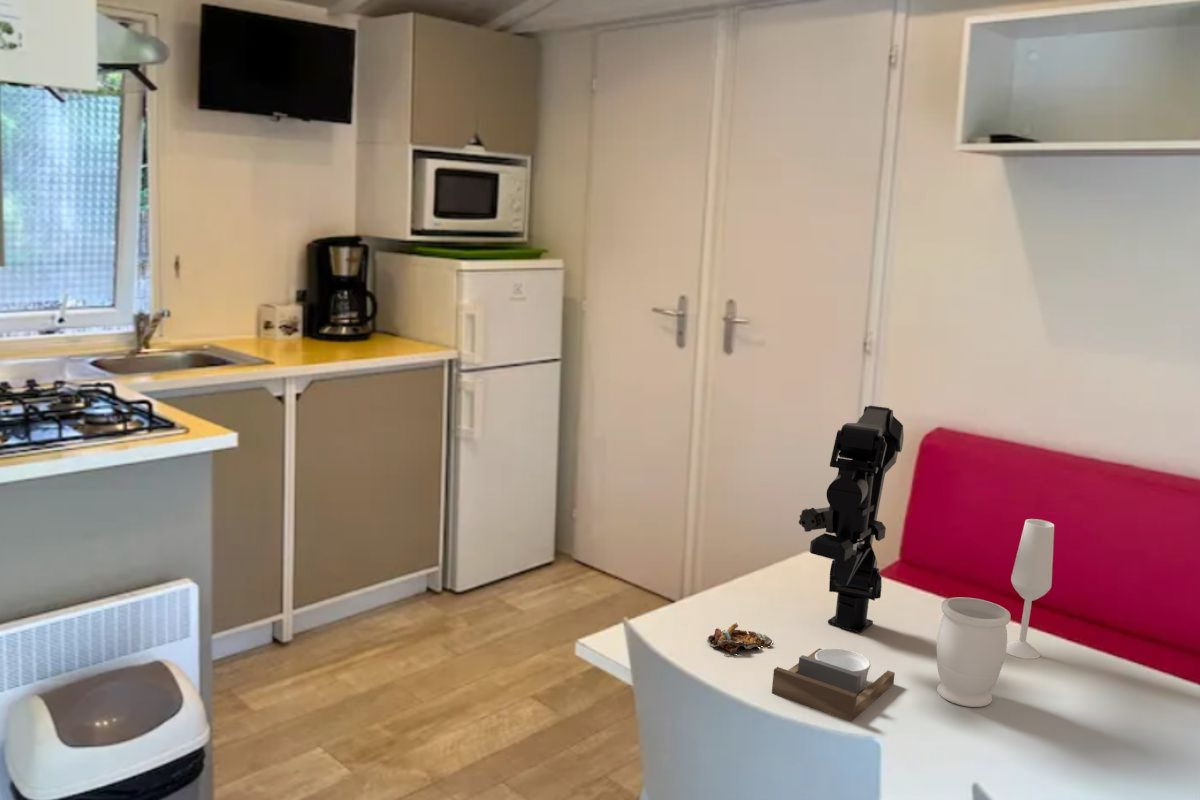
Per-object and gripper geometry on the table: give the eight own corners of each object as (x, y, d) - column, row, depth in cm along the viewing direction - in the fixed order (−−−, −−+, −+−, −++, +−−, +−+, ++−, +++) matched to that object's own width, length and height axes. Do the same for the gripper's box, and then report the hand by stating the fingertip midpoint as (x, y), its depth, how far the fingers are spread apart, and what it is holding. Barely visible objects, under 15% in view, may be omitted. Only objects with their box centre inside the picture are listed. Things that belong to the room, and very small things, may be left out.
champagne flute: (1021, 660, 184) (1040, 530, 179) (992, 645, 190) (1010, 518, 185) (1049, 656, 186) (1069, 527, 182) (1020, 641, 192) (1039, 516, 188)
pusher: (800, 680, 170) (803, 654, 169) (858, 700, 164) (861, 673, 163) (796, 683, 168) (799, 657, 168) (854, 703, 163) (858, 676, 162)
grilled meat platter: (778, 647, 184) (780, 628, 183) (727, 660, 177) (728, 640, 176) (752, 633, 189) (754, 614, 188) (701, 644, 183) (703, 625, 182)
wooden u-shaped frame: (818, 659, 179) (820, 637, 178) (893, 683, 171) (896, 661, 170) (771, 692, 165) (773, 669, 164) (851, 721, 157) (854, 696, 157)
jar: (964, 716, 161) (977, 625, 159) (916, 687, 170) (927, 600, 168) (1012, 705, 166) (1026, 616, 164) (963, 677, 175) (975, 593, 173)
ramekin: (807, 670, 175) (810, 645, 174) (860, 673, 175) (863, 649, 174) (817, 694, 166) (820, 668, 165) (873, 698, 166) (876, 672, 165)
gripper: (832, 479, 190) (823, 560, 193) (785, 498, 175) (777, 586, 178) (891, 492, 184) (881, 576, 187) (848, 513, 169) (838, 604, 172)
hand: (843, 585), depth 181 cm, fingers closed
